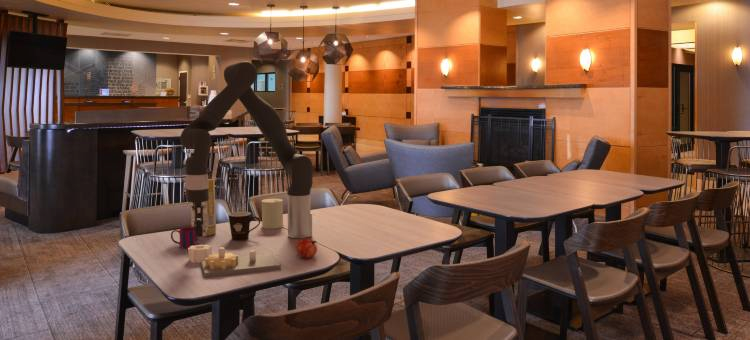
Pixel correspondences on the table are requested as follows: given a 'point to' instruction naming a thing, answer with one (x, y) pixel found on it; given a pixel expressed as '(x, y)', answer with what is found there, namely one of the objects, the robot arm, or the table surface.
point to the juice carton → (208, 212)
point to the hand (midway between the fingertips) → (198, 233)
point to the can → (272, 213)
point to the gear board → (238, 263)
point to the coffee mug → (240, 225)
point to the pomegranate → (306, 248)
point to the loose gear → (199, 253)
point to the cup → (186, 237)
